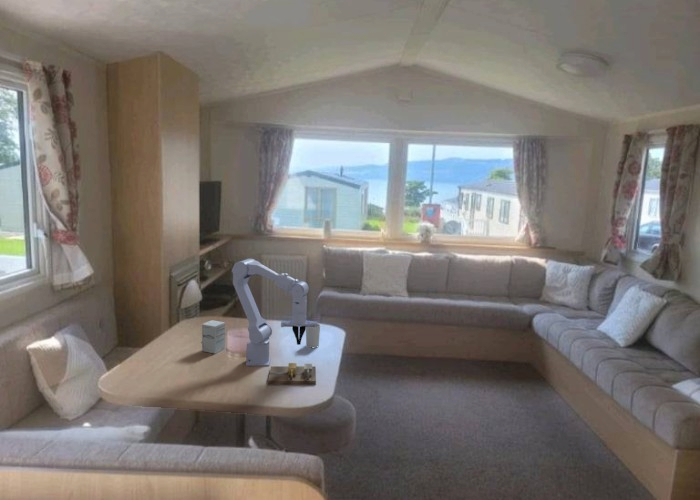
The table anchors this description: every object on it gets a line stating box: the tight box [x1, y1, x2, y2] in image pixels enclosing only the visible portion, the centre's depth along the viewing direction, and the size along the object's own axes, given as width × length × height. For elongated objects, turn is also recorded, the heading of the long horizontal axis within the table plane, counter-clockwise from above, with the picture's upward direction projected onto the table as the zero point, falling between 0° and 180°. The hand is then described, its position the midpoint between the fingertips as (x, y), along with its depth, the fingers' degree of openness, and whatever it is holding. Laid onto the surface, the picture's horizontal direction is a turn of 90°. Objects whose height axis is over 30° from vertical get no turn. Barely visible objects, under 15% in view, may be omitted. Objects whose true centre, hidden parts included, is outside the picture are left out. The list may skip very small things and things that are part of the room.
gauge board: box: [267, 363, 317, 386], centre depth 189 cm, size 18×14×4 cm
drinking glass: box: [305, 323, 321, 349], centre depth 224 cm, size 7×7×10 cm
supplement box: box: [201, 319, 226, 355], centre depth 214 cm, size 7×7×13 cm
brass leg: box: [288, 362, 297, 379], centre depth 187 cm, size 3×8×3 cm, turn 5°
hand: (298, 343), depth 197 cm, fingers closed
